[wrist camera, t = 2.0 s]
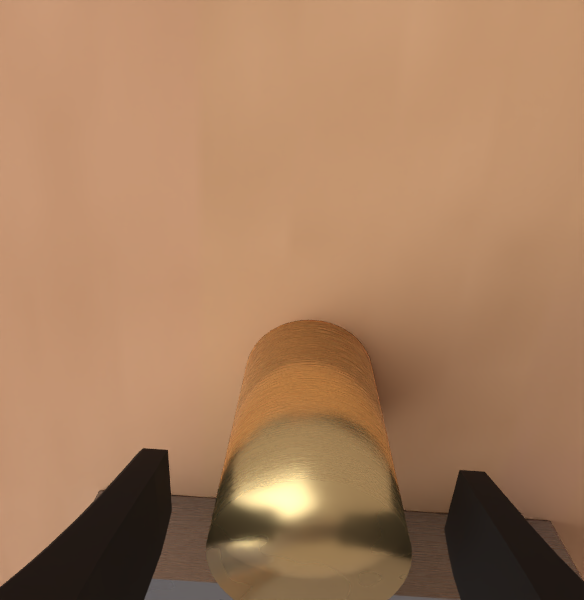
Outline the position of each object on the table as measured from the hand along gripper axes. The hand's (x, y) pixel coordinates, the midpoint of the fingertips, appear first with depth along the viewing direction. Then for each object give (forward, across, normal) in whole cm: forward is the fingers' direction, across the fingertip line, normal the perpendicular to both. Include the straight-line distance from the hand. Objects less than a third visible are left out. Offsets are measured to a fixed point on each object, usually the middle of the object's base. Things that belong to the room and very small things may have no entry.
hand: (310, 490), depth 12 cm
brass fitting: (+5, 0, 0) cm, 5 cm away
